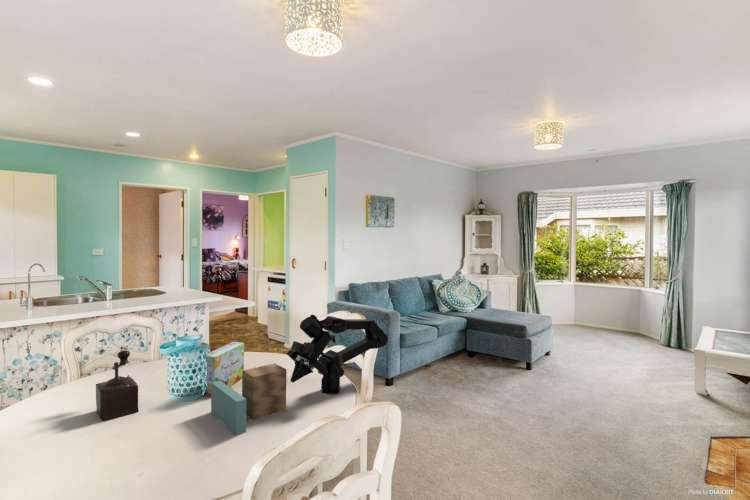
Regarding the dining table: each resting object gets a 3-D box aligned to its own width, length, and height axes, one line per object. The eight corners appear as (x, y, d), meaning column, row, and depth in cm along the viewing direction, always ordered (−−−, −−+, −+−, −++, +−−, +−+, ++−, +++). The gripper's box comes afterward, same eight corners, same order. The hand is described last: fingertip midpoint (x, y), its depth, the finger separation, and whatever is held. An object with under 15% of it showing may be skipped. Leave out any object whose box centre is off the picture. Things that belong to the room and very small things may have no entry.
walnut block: (274, 402, 145) (274, 363, 144) (285, 409, 139) (286, 369, 138) (241, 411, 137) (242, 370, 136) (252, 420, 131) (253, 377, 130)
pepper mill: (141, 411, 135) (141, 358, 135) (101, 421, 128) (101, 365, 127) (129, 397, 146) (129, 347, 146) (92, 406, 139) (91, 353, 138)
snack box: (214, 398, 148) (214, 356, 147) (200, 396, 149) (200, 355, 148) (244, 378, 169) (244, 341, 168) (232, 376, 170) (232, 340, 169)
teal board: (220, 409, 138) (220, 380, 138) (246, 431, 123) (246, 399, 123) (211, 412, 136) (211, 382, 136) (236, 434, 121) (236, 401, 121)
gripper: (291, 327, 154) (264, 362, 147) (319, 337, 141) (291, 376, 134) (308, 344, 160) (283, 379, 153) (337, 356, 146) (311, 394, 139)
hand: (291, 381), depth 145 cm, fingers closed
